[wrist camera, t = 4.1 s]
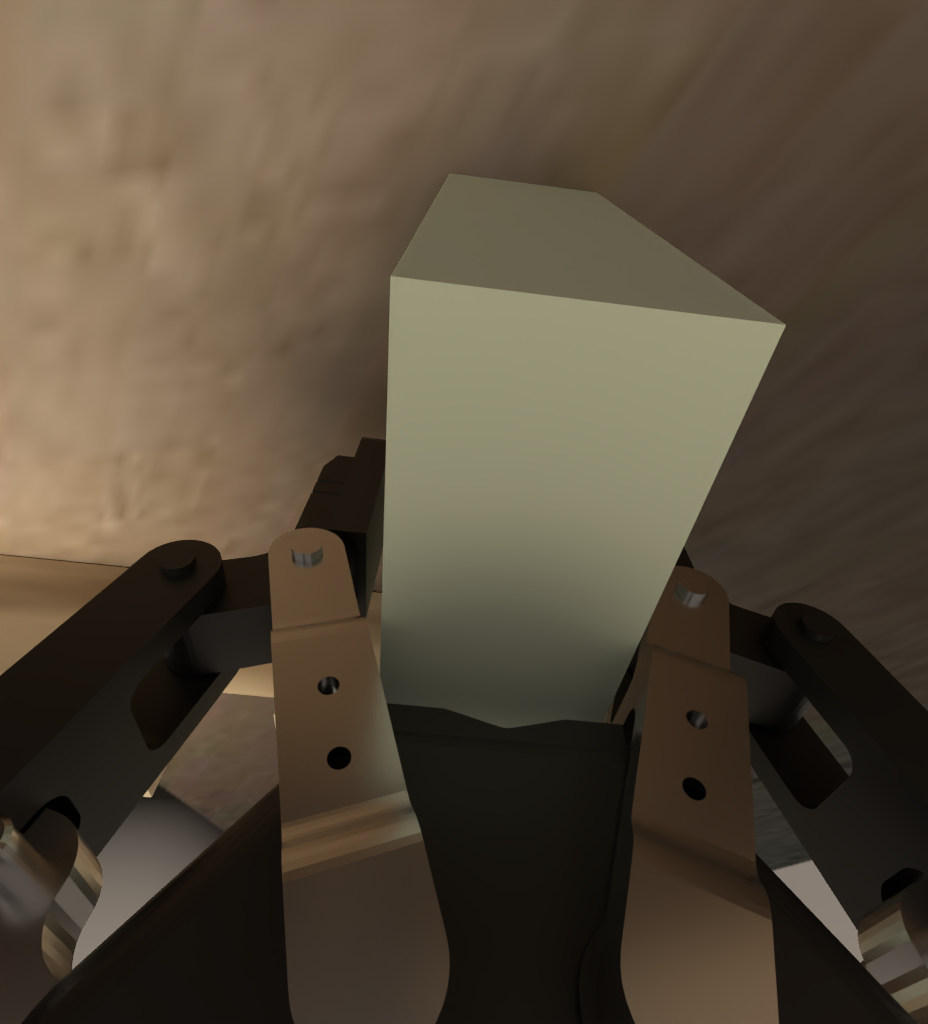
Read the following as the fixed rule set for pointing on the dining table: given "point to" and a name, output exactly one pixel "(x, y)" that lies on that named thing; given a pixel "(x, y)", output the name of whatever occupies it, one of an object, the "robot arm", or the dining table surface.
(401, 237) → the dining table surface
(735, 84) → the dining table surface
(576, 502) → the sage green tall block
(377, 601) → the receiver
